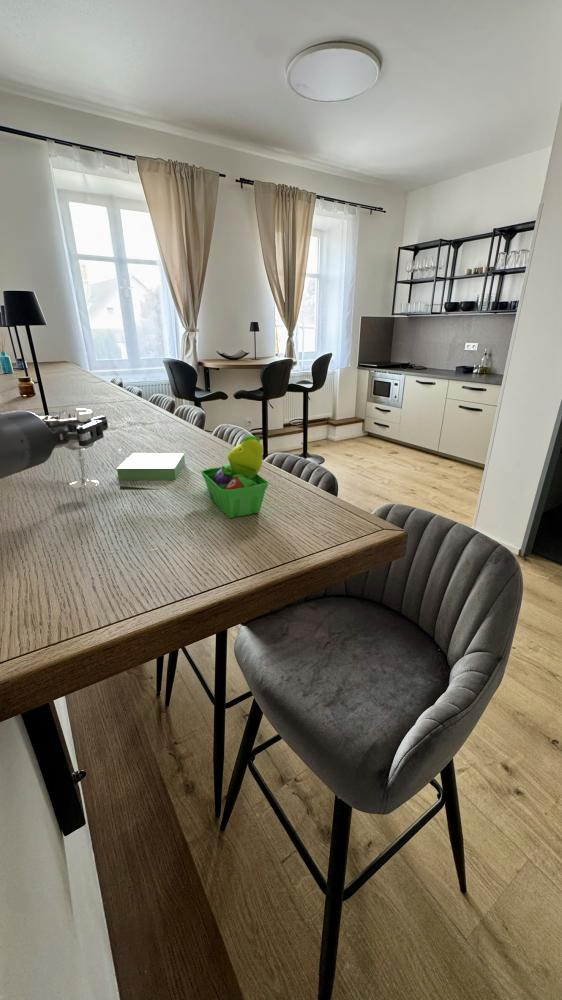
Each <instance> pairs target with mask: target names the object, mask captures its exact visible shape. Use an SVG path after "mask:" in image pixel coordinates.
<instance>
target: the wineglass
mask: <svg viewBox="0 0 562 1000" xmlns="http://www.w3.org/2000/svg"><path fill="white" fill-rule="evenodd" d="M57 413H58V414H57V415H58V420H61V419H69V418H75V419H78V420H86V419H91V418H94V417H95V416H94V414H93V411H92V410H91V409H86V408H67V409H61V410H58V412H57ZM67 425H68V426H69V427H70V432H72V426H71V423H70V424H67ZM81 426H83V425H81ZM97 442H98V440H97V441H95V442H93V443H91V444H89V445H87V446H84V447H83V446H79V442H78V443H72V444H67V445H64V446H63V448H65V449H67V450H69V451H72V452H76V453H78V454H77V459H78V460H77V461H78V463H79V466H80V471H81V477H80V479H78V480H77V479H76V480H75V481H72V482H70V483H69V487H70V488H72V489H76V490H77V489H79V490H81V489H82V490H84V489H90V488H95V487H97V486H99V485H100V481H98V480H96V479H89V478H88V477H87V476H86V473H85V472H86V471H85V459H86V456H85V454H84V452H86V451H89V450H91V449H93V448H94V447H95V446H96V445H97Z"/></svg>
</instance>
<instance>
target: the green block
mask: <svg viewBox="0 0 562 1000" xmlns="http://www.w3.org/2000/svg"><path fill="white" fill-rule="evenodd" d="M185 461H186V459H185V453H184V452H183V453H181V452H177V453H176V452H172V453H171V452H170V453H169V452H164V453H161V452H159V453H158V452H156V453H155V452H154V453H153V452H152V453H151V452H150V453H149V452H148V453H147V452H144V453H143V452H141V453H140V452H139V453H138V452H134V453H132V454H130V456H129V457H127V458H126V459H125V460H124V461H123V462H122V463H121V464H120V465H119V466H117V468H116V472H117V478H118V481H176V480H177V479H178V477H179V475H180V473H181V472H182V470H183V468H184V466H185V465H186V462H185ZM119 490H120V491H140V490H141V491H143V490H144V491H145V490H149V491H150V490H151V491H152V490H160V489H158V488H149V487H139V486H138V487H136V486H127V485H126V486H125V485H119Z"/></svg>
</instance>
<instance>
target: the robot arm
mask: <svg viewBox="0 0 562 1000" xmlns="http://www.w3.org/2000/svg"><path fill="white" fill-rule="evenodd" d="M70 423H71V426H72V432H70V427H69V426H68V425H67V424H70ZM81 425H83V426H81ZM108 428H109V424H108V418H107V416H105V415H99V416H94V418H91V419H86V420H78V419H75V418H69V419H61V420H58V414H57V415H54V416H49V415H40V416H39V415H37V414H35V413H34V412H32V411H28V410H24V409H18V410H12V411H7V412H2V413H0V480H1V479H6V478H7V477H10V476H12V475H15V474H18V473H20V472H24V471H26V470H29V469H32V468H34V467H36V466H39V465H42V464H44V463H46V462H47V461H48V460H49V459H50V457H51V456H52V454H53V452H54V449H59V448H64V445H67V444H72V443H78V442H79V446H83V447H84V446H87V445H89V444H91V443H93V442H95V441H97V442H98V441H99V440H101V439H103V438H105V437H104V436H105V435H104V431H107V430H108Z"/></svg>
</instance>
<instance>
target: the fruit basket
mask: <svg viewBox="0 0 562 1000" xmlns="http://www.w3.org/2000/svg"><path fill="white" fill-rule="evenodd" d="M263 454H264V445H263V444H262V443H261V438H260V437H256V436H255V435H246V436H245V437H244V438H243V439H242V441H241V443H239V444H238V445H236V446H235V447H233V448H232V449H230V451H229V452H228V454H227V460H228V463H229V464H224V465H222V466H221V467H211V468H206V469H202V470H201V471H200V472H201V476H202V478H203V479H204V482H205V485H206V488H207V490H208V492H209V497H210V500H211V501H212V502H213V503H214V504H215V505H216V506H217V508H219V509H220V510H221V511H222V512H223V513H224V514H225V515H226V516H227V518H229V519H232V518H235V517H242V516H243V517H244V516H248V515H252V514H260V512H261V508H262V505H263V501H264V496H265V493H266V491H267V489H268V486H269V482H268V480H266V479H264V478H263V477H262V476H260V475H259V474H258V473H259V472H260V470H261V469H262V465H263Z"/></svg>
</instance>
